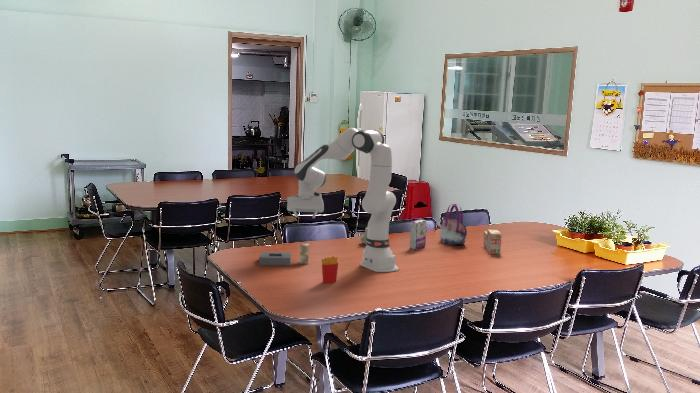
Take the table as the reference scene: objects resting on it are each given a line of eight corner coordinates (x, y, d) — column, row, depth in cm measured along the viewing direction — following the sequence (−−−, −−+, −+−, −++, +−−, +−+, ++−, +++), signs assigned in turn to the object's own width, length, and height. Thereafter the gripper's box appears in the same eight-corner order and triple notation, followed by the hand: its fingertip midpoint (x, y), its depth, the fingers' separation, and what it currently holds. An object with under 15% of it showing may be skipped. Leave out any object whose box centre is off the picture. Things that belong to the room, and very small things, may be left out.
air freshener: (358, 244, 359) (358, 228, 357) (364, 241, 366) (365, 225, 365) (374, 246, 354) (375, 230, 352) (380, 244, 361) (381, 228, 360)
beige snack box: (482, 245, 368) (484, 226, 366) (493, 246, 368) (494, 226, 366) (489, 253, 347) (491, 233, 345) (500, 254, 347) (501, 233, 345)
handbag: (434, 240, 376) (436, 202, 373) (445, 239, 382) (448, 201, 379) (459, 247, 359) (462, 207, 356) (470, 245, 365) (473, 206, 362)
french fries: (334, 279, 282) (335, 255, 281) (338, 281, 279) (339, 257, 277) (319, 281, 278) (320, 257, 276) (323, 284, 274) (324, 259, 273)
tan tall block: (308, 262, 312) (308, 243, 311) (308, 263, 309) (308, 245, 307) (299, 262, 312) (300, 243, 310) (299, 263, 308) (300, 245, 307)
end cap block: (291, 259, 316) (291, 252, 315) (290, 265, 304) (290, 258, 303) (260, 259, 315) (261, 251, 314) (259, 265, 303) (259, 257, 302)
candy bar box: (418, 245, 361) (419, 219, 359) (425, 246, 358) (427, 220, 356) (408, 248, 352) (410, 221, 350) (416, 249, 349) (417, 222, 347)
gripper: (287, 192, 324) (285, 213, 316) (324, 193, 326) (323, 214, 318) (287, 199, 329) (285, 219, 321) (323, 200, 331) (323, 221, 323)
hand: (305, 217), depth 319 cm, fingers open, 8 cm apart
